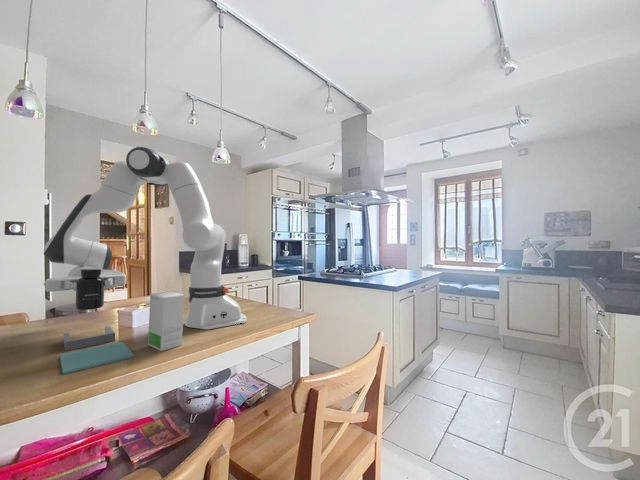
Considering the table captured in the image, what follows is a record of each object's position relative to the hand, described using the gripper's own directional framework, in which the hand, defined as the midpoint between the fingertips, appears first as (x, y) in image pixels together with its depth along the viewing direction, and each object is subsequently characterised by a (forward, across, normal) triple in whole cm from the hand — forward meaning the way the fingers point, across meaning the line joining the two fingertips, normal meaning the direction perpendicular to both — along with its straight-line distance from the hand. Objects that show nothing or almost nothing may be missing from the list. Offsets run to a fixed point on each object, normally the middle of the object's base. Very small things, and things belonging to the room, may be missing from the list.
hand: (91, 284), depth 85 cm
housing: (-2, 0, +18) cm, 18 cm away
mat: (+15, 0, +18) cm, 23 cm away
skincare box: (+19, +16, +18) cm, 31 cm away
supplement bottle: (-1, 0, +8) cm, 8 cm away
